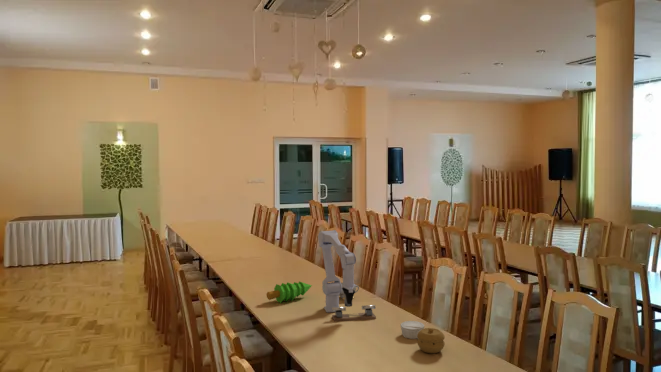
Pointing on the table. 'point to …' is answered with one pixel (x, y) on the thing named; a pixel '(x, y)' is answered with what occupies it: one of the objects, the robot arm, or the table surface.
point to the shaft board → (354, 317)
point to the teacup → (343, 292)
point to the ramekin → (411, 329)
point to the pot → (430, 340)
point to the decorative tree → (288, 291)
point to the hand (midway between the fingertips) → (348, 302)
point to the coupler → (346, 301)
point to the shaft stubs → (339, 311)
